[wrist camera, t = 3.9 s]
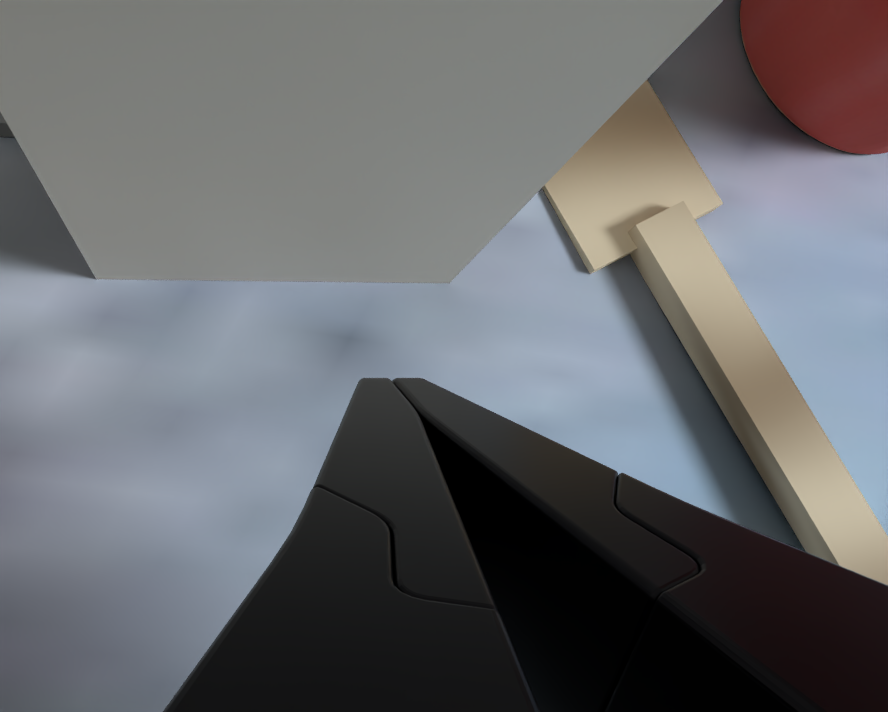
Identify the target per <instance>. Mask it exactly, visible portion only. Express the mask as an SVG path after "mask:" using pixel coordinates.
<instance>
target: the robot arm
mask: <svg viewBox="0 0 888 712" xmlns="http://www.w3.org/2000/svg"><path fill="white" fill-rule="evenodd" d="M163 712H888V585H886V584H883V583H881V582H878V581H876V580H873V579H871V578H869V577H866V576H864V575H861V574H859V573H856V572H854V571H851V570H849V569H846V568H844V567H842V566H839V565H837V564H834V563H832V562H829V561H827V560H824V559H822V558H819V557H817V556H815V555H812V554H810V553H807V552H805V551H802V550H800V549H797V548H795V547H792V546H790V545H788V544H785V543H783V542H780V541H778V540H775V539H773V538H770V537H768V536H766V535H763V534H761V533H758V532H756V531H753V530H751V529H748V528H746V527H743V526H741V525H739V524H736V523H734V522H731V521H729V520H727V519H724V518H722V517H720V516H717V515H715V514H712V513H710V512H708V511H705V510H703V509H701V508H698V507H696V506H694V505H691V504H689V503H687V502H684V501H682V500H680V499H678V498H676V497H673V496H671V495H669V494H667V493H665V492H662V491H660V490H658V489H656V488H654V487H651V486H649V485H647V484H645V483H643V482H641V481H639V480H637V479H635V478H632V477H630V476H628V475H626V474H624V473H620V474H619V475H618V473H617V471H615V470H613V469H611V468H609V467H607V466H605V465H603V464H601V463H598V462H596V461H594V460H592V459H590V458H588V457H586V456H584V455H582V454H580V453H578V452H575V451H573V450H571V449H569V448H567V447H565V446H563V445H561V444H559V443H557V442H554V441H552V440H550V439H548V438H546V437H544V436H542V435H540V434H538V433H536V432H534V431H531V430H529V429H527V428H525V427H523V426H521V425H519V424H517V423H515V422H513V421H511V420H508V419H506V418H504V417H502V416H500V415H498V414H496V413H494V412H492V411H490V410H487V409H485V408H483V407H481V406H479V405H477V404H475V403H473V402H471V401H469V400H467V399H464V398H462V397H460V396H458V395H456V394H454V393H452V392H450V391H448V390H446V389H444V388H441V387H439V386H437V385H435V384H433V383H431V382H429V381H427V380H425V379H421V378H396V379H394V380H393V381H391V380H390V379H388V378H362V379H361V380H360V381H359V382H358V384H357V386H356V389H355V391H354V393H353V396H352V398H351V400H350V403H349V405H348V407H347V410H346V412H345V414H344V417H343V419H342V421H341V424H340V426H339V428H338V431H337V433H336V435H335V438H334V440H333V442H332V445H331V447H330V449H329V452H328V454H327V456H326V459H325V461H324V463H323V466H322V468H321V470H320V473H319V475H318V477H317V480H316V482H315V484H314V487H313V489H312V490H311V492H310V494H309V496H308V499H307V501H306V503H305V506H304V508H303V510H302V512H301V514H300V516H299V518H298V519H297V521H296V523H295V525H294V527H293V529H292V531H291V533H290V534H289V536H288V537H287V539H286V541H285V542H284V544H283V545H282V547H281V548H280V550H279V551H278V553H277V554H276V556H275V557H274V559H273V560H272V562H271V563H270V565H269V566H268V567H267V569H266V570H265V571H264V573H263V574H262V576H261V577H260V578H259V580H258V581H257V583H256V584H255V585H254V587H253V588H252V589H251V591H250V592H249V594H248V595H247V596H246V598H245V599H244V600H243V602H242V603H241V605H240V606H239V607H238V609H237V610H236V612H235V613H234V614H233V616H232V617H231V618H230V620H229V621H228V623H227V624H226V625H225V627H224V628H223V629H222V631H221V632H220V634H219V635H218V636H217V638H216V639H215V641H214V642H213V643H212V645H211V646H210V647H209V649H208V650H207V652H206V653H205V654H204V656H203V657H202V658H201V660H200V661H199V663H198V664H197V665H196V667H195V668H194V669H193V671H192V672H191V674H190V675H189V676H188V678H187V679H186V681H185V682H184V683H183V685H182V686H181V687H180V689H179V690H178V692H177V693H176V694H175V696H174V697H173V698H172V700H171V701H170V703H169V704H168V705H167V707H166V708H165V710H164V711H163Z"/></svg>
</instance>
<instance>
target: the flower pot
mask: <svg viewBox="0 0 888 712" xmlns="http://www.w3.org/2000/svg"><path fill="white" fill-rule="evenodd" d="M740 26H741V33H742V39H743V44H744V48H745V51H746V54H747V57H748V59H749V62H750V64H751V67H752V69H753V72H754V73H755V75H756V77H757V79H758V81H759V82H760V84H761V86H762V88H763V89H764V91H765V92H766V94H767V95H768V96H769V98H770V99H771V100H772V102H773V103H774V104H775V105H776V107H777V108H778V109H779V110H780V111H781V112H782V113H783V114H784V115H785V116H786V117H787V118H788V119H789V120H790V121H791V122H792V123H794V124H795V125H796V126H797V127H799V128H800V129H801V130H802V131H804V132H805V133H807V134H808V135H810V136H812V137H813V138H815V139H817V140H818V141H820V142H822V143H824V144H826V145H828V146H831V147H833V148H836V149H839V150H842V151H846V152H850V153H857V154H881V153H886V152H888V0H741V6H740Z"/></svg>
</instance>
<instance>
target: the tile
mask: <svg viewBox="0 0 888 712" xmlns="http://www.w3.org/2000/svg"><path fill="white" fill-rule="evenodd" d="M722 1H723V0H0V112H1V114H2V116H3V117H4V119H5V121H6V123H7V124H8V126H9V128H10V129H11V131H12V133H13V135H14V136H15V138H16V140H17V142H18V143H19V145H20V147H21V149H22V150H23V152H24V154H25V156H26V157H27V159H28V161H29V163H30V164H31V166H32V168H33V170H34V171H35V173H36V175H37V177H38V178H39V180H40V182H41V184H42V185H43V187H44V189H45V191H46V192H47V194H48V196H49V198H50V199H51V201H52V203H53V205H54V206H55V208H56V210H57V212H58V213H59V215H60V217H61V219H62V220H63V222H64V224H65V226H66V227H67V229H68V231H69V232H70V234H71V236H72V238H73V239H74V241H75V243H76V245H77V246H78V248H79V250H80V252H81V253H82V255H83V257H84V259H85V260H86V262H87V264H88V266H89V267H90V269H91V271H92V273H93V274H94V276H95V278H96V279H111V280H199V281H287V282H375V283H450V282H451V281H452V280H453V279H454V278H455V277H456V276H457V275H458V274H459V273H460V272H461V271H462V270H463V269H464V268H465V267H466V266H467V265H468V264H469V263H470V262H471V260H472V259H473V258H474V257H475V256H476V255H477V254H478V253H479V252H480V251H481V250H482V249H483V248H484V247H485V246H486V245H487V244H488V243H489V242H490V241H491V240H492V239H493V238H494V237H495V236H496V235H497V234H498V233H499V232H500V231H501V230H502V228H503V227H504V226H505V225H506V224H507V223H508V222H509V221H510V220H511V219H512V218H513V217H514V216H515V215H516V214H517V213H518V212H519V211H520V210H521V209H522V208H523V207H524V206H525V205H526V204H527V203H528V202H529V201H530V200H531V199H532V197H533V196H534V195H535V194H536V193H537V192H538V191H539V190H540V189H541V188H542V187H543V186H544V185H545V184H546V183H547V182H548V181H549V180H550V179H551V178H552V177H553V176H554V175H555V174H556V173H557V172H558V171H559V170H560V169H561V168H562V167H563V165H564V164H565V163H566V162H567V161H568V160H569V159H570V158H571V157H572V156H573V155H574V154H575V153H576V152H577V151H578V150H579V149H580V148H581V147H582V146H583V145H584V144H585V143H586V142H587V141H588V140H589V139H590V138H591V137H592V136H593V135H594V133H595V132H596V131H597V130H598V129H599V128H600V127H601V126H602V125H603V124H604V123H605V122H606V121H607V120H608V119H609V118H610V117H611V116H612V115H613V114H614V113H615V112H616V111H617V110H618V109H619V108H620V107H621V106H622V105H623V104H624V103H625V101H626V100H627V99H628V98H629V97H630V96H631V95H632V94H633V93H634V92H635V91H636V90H637V89H638V88H639V87H640V86H641V85H642V84H643V83H644V82H645V81H646V80H647V79H648V78H649V77H650V76H651V75H652V74H653V73H654V72H655V71H656V69H657V68H658V67H659V66H660V65H661V64H662V63H663V62H664V61H665V60H666V59H667V58H668V57H669V56H670V55H671V54H672V53H673V52H674V51H675V50H676V49H677V48H678V47H679V46H680V45H681V44H682V43H683V42H684V41H685V40H686V39H687V37H688V36H689V35H690V34H691V33H692V32H693V31H694V30H695V29H696V28H697V27H698V26H699V25H700V24H701V23H702V22H703V21H704V20H705V19H706V18H707V17H708V16H709V15H710V14H711V13H712V12H713V11H714V10H715V9H716V8H717V7H718V5H719V4H720V3H721V2H722Z"/></svg>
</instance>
